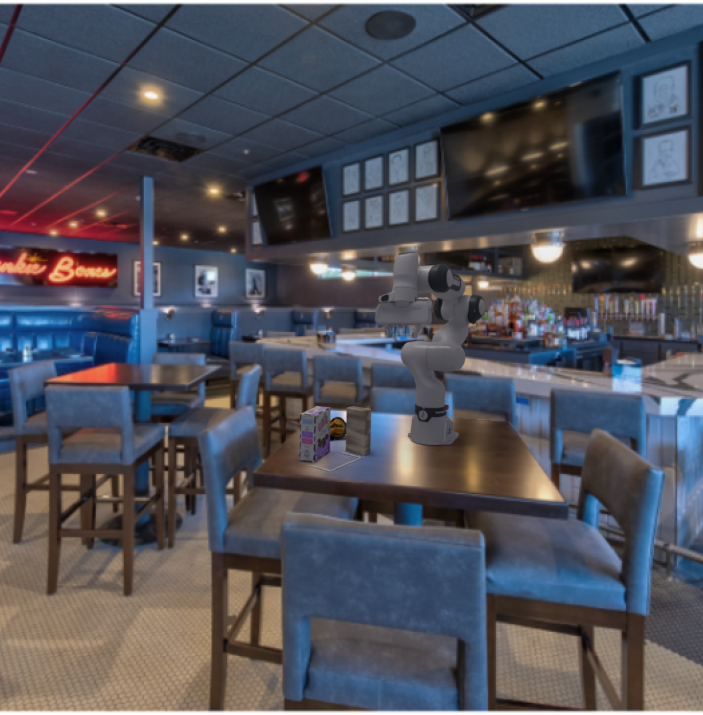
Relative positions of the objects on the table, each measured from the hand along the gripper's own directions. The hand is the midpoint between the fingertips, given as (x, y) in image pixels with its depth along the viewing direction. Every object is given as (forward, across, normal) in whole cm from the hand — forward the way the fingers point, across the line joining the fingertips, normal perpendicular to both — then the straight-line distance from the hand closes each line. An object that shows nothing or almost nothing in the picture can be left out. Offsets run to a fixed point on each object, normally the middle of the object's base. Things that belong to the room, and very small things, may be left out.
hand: (401, 337), depth 161 cm
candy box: (+43, +25, +11) cm, 51 cm away
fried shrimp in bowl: (+40, +32, -8) cm, 52 cm away
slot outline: (+44, +16, +12) cm, 48 cm away
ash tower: (+42, +15, -1) cm, 44 cm away
